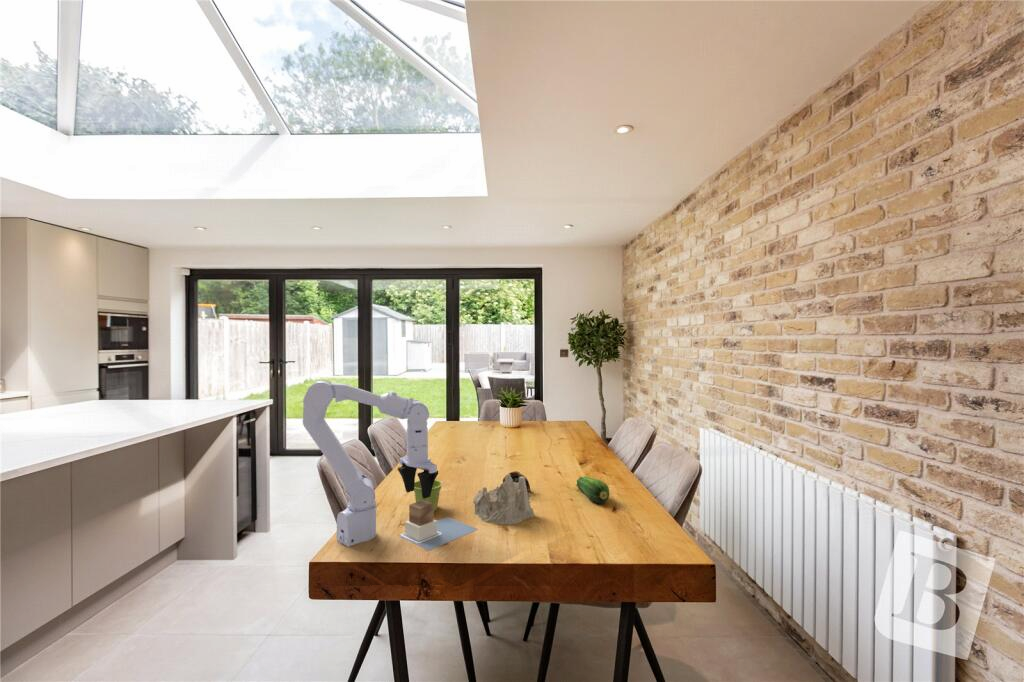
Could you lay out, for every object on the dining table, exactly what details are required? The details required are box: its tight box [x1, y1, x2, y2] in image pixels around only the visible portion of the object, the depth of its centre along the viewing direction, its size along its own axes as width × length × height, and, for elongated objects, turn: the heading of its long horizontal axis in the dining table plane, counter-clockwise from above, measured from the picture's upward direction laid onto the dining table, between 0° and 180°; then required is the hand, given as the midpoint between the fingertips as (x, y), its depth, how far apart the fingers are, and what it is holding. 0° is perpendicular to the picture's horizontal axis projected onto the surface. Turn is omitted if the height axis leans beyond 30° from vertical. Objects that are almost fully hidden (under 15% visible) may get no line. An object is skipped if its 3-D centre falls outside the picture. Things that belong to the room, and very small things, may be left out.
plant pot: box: [413, 479, 443, 512], centre depth 136 cm, size 9×9×9 cm
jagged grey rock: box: [472, 473, 535, 526], centre depth 132 cm, size 16×16×15 cm
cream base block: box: [404, 518, 438, 541], centre depth 117 cm, size 6×6×4 cm
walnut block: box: [408, 500, 434, 526], centre depth 117 cm, size 4×4×4 cm
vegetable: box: [576, 476, 610, 504], centre depth 151 cm, size 7×7×20 cm
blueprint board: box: [398, 516, 478, 551], centre depth 118 cm, size 17×13×1 cm
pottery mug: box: [502, 470, 532, 493], centre depth 156 cm, size 12×10×8 cm
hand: (418, 494), depth 121 cm, fingers open, 7 cm apart
